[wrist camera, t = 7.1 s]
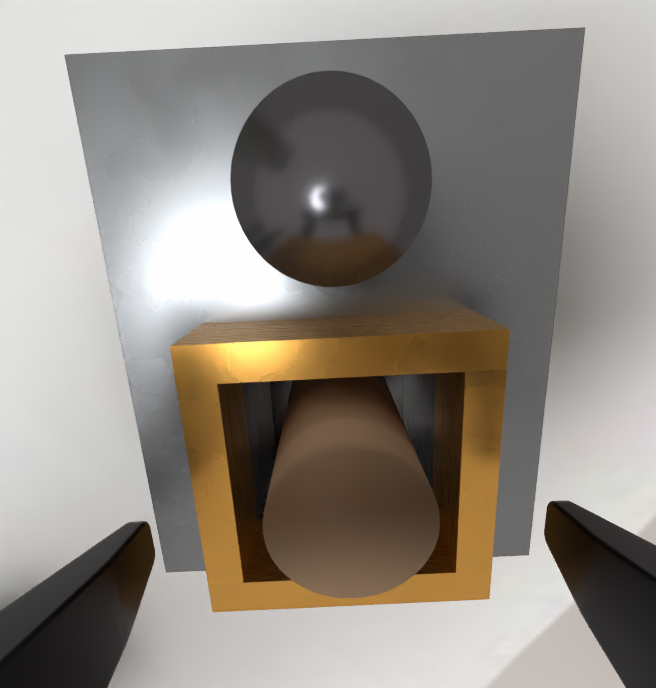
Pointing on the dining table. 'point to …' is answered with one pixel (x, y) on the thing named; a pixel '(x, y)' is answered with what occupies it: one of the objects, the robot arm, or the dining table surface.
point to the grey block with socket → (334, 273)
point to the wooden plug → (348, 491)
